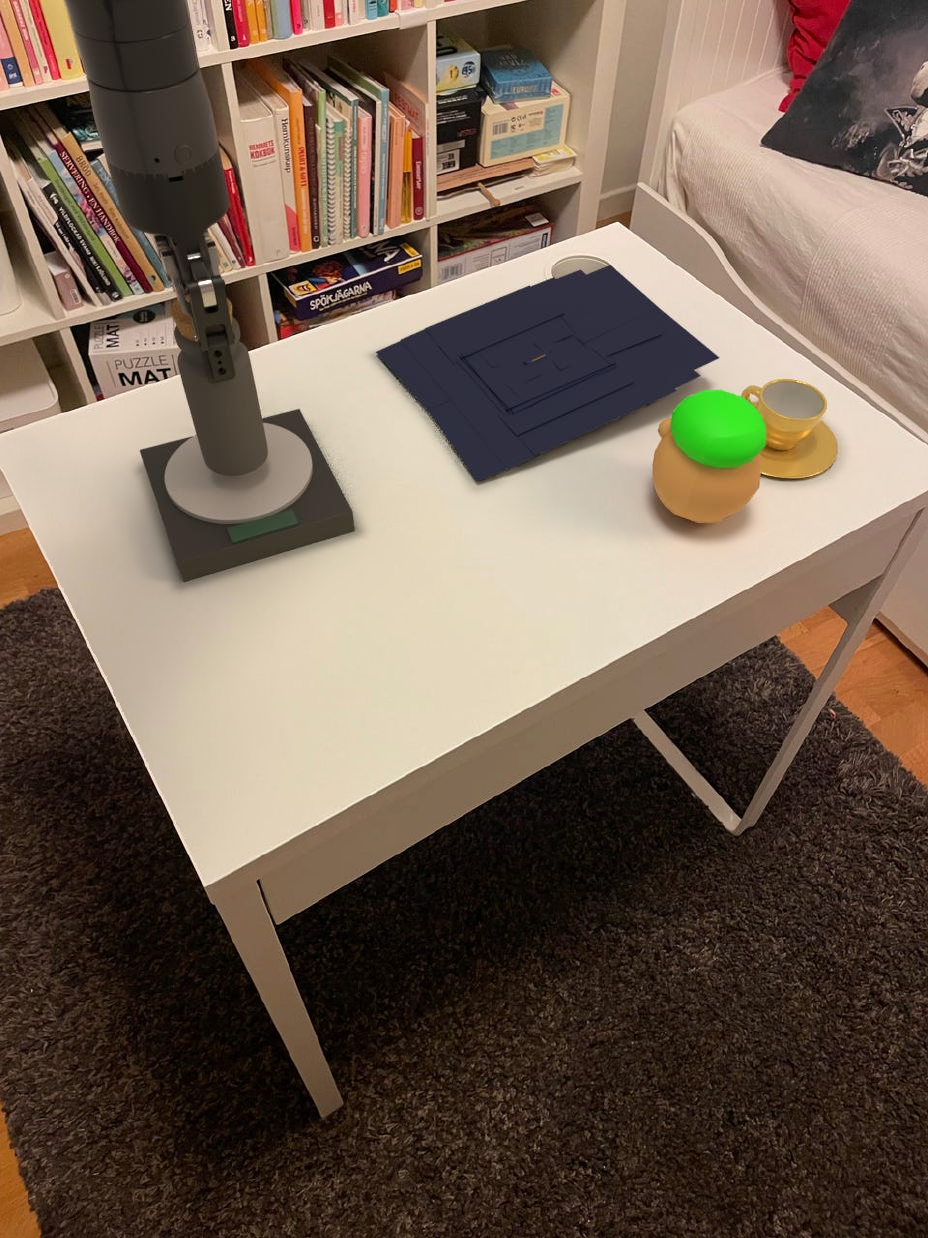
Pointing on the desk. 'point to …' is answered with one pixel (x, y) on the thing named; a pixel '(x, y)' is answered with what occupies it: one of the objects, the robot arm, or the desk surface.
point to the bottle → (221, 404)
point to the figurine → (709, 456)
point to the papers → (544, 366)
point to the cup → (793, 429)
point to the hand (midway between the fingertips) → (212, 356)
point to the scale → (246, 500)
